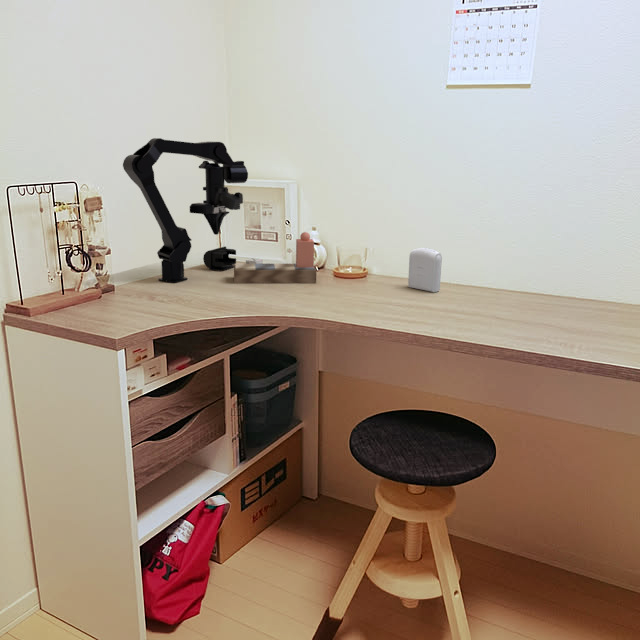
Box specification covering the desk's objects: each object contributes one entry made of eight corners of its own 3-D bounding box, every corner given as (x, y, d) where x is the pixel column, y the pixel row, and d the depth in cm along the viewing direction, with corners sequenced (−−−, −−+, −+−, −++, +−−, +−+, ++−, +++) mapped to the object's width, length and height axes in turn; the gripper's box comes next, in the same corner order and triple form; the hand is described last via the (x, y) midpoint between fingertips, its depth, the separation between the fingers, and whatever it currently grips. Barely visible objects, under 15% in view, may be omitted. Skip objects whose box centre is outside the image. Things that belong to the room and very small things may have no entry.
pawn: (297, 267, 199) (297, 233, 197) (295, 264, 204) (296, 231, 201) (313, 267, 200) (314, 233, 197) (311, 264, 205) (312, 231, 202)
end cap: (218, 265, 225) (218, 245, 223) (236, 267, 222) (236, 247, 220) (203, 270, 216) (202, 249, 214) (221, 272, 213) (221, 251, 211)
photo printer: (405, 287, 197) (407, 246, 194) (414, 285, 200) (416, 245, 196) (433, 293, 190) (436, 251, 186) (441, 291, 193) (445, 249, 189)
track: (234, 283, 196) (233, 268, 195) (234, 277, 205) (234, 263, 204) (316, 283, 199) (316, 268, 198) (312, 277, 208) (313, 263, 207)
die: (255, 273, 211) (255, 261, 210) (245, 272, 213) (245, 260, 212) (262, 271, 215) (262, 259, 213) (252, 270, 216) (252, 258, 215)
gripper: (217, 186, 188) (219, 240, 192) (253, 183, 204) (254, 233, 208) (187, 184, 193) (189, 237, 197) (225, 181, 209) (225, 230, 213)
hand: (216, 234), depth 204 cm, fingers closed
